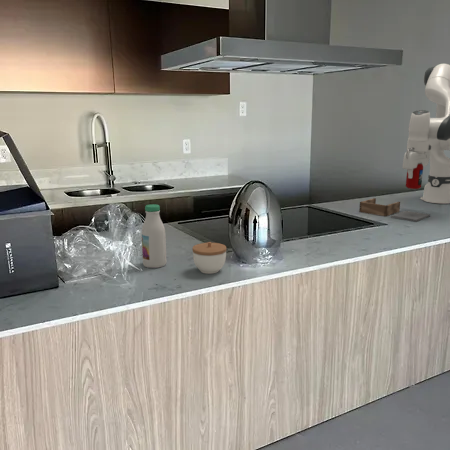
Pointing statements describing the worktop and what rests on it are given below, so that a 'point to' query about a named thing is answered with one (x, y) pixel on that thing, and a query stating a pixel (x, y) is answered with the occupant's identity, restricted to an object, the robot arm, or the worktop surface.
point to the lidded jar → (209, 257)
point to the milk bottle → (153, 238)
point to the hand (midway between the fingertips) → (414, 177)
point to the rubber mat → (410, 216)
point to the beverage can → (415, 178)
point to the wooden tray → (378, 208)
